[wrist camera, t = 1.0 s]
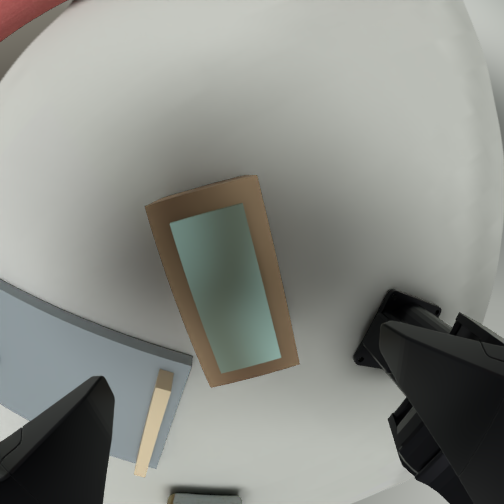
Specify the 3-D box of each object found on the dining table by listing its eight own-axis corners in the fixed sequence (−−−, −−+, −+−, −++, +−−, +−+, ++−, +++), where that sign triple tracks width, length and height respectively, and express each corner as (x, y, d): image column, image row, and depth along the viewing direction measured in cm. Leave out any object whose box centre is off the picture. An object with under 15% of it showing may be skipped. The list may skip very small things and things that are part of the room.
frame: (244, 175, 17) (258, 175, 12) (280, 322, 20) (300, 366, 15) (163, 197, 17) (143, 207, 12) (210, 341, 20) (210, 390, 15)
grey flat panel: (192, 356, 20) (190, 384, 17) (157, 459, 22) (154, 484, 19) (-14, 271, 16) (-38, 284, 13) (-3, 392, 19) (-16, 411, 15)
